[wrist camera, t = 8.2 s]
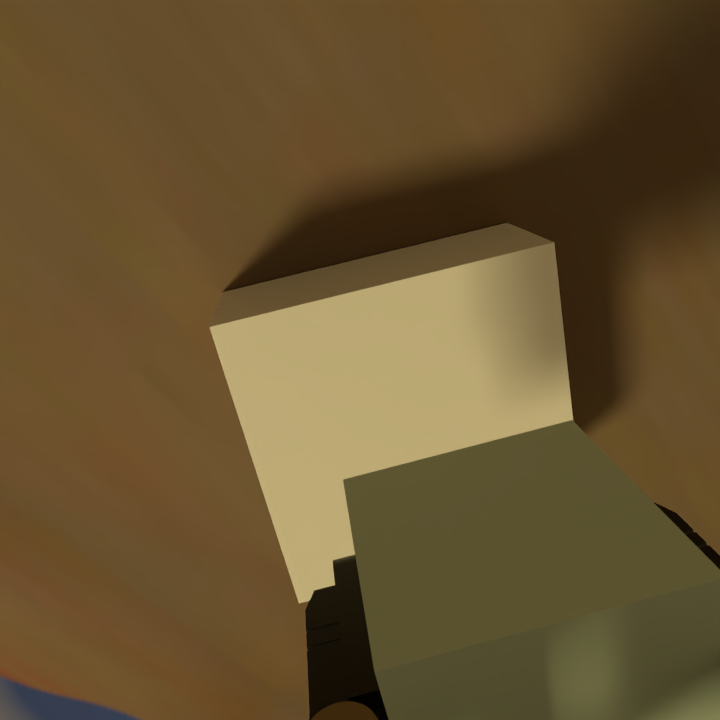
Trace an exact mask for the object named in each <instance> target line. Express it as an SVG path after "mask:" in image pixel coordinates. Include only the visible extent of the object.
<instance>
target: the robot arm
mask: <svg viewBox="0 0 720 720" xmlns="http://www.w3.org/2000/svg"><path fill="white" fill-rule="evenodd" d="M655 504H656V503H655ZM656 506H657V507H658V508H659V509H660V510H661V511H662V512H663V513H664V514H665V515H666V516H667V517H668V518H669V519H670V520H671V521H672V522H673V523H674V524H675V525H676V526H677V527H678V528H679V529H680V530H681V531H682V532H683V533H684V534H685V535H686V536H687V537H688V538H689V539H690V540H691V541H692V542H693V543H694V544H695V545H696V546H697V547H698V548H699V549H700V550H701V551H702V552H703V553H704V554H705V555H706V556H707V557H708V558H709V559H710V560H711V561H712V562H713V563H714V564H715V565H716V566H717V567H718V568H719V569H720V556H719V555H718V554H717V553H716V552H715V551H714V550H713V549H712V548H711V547H710V546H707V544H706V542H705V541H704V540H703V539H702V538H701V537H700V536H699V535H698V534H697V533H696V532H695V533H694V532H693V529H692V528H691V527H690V526H689V525H688V524H687V523H686V522H685V521H684V520H683V519H682V518H681V517H680V516H679V515H678V514H677V513H675V512H673V511H671V510H669V509H667V508H665V507H663V506H660V505H658V504H656ZM333 571H334V580H335V585H333V586H329V587H325V588H322V589H318V590H314V592H313V594H312V597H311V599H310V601H309V603H308V606H307V608H306V610H305V611H306V631H307V634H306V635H307V649H308V651H307V659H308V683H309V707H310V718H309V720H388V716H387V713H386V709H385V706H384V703H383V699H382V696H381V693H380V689H379V686H378V682H377V679H376V676H375V672H374V666H373V660H372V654H371V648H370V642H369V636H368V630H367V624H366V618H365V611H364V605H363V599H362V593H361V587H360V581H359V575H358V569H357V563H356V557H355V555H351V556H347V557H343V558H339V559H336V560H333Z"/></svg>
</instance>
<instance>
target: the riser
mask: <svg viewBox="0 0 720 720" xmlns="http://www.w3.org/2000/svg"><path fill="white" fill-rule="evenodd" d="M210 330H211V333H212V336H213V340H214V343H215V346H216V349H217V352H218V355H219V358H220V361H221V364H222V367H223V370H224V373H225V377H226V380H227V383H228V386H229V389H230V392H231V395H232V398H233V401H234V404H235V407H236V410H237V414H238V417H239V420H240V423H241V426H242V429H243V432H244V435H245V438H246V441H247V444H248V447H249V451H250V454H251V457H252V460H253V463H254V466H255V469H256V472H257V475H258V478H259V481H260V484H261V488H262V491H263V494H264V497H265V500H266V503H267V506H268V509H269V512H270V515H271V518H272V521H273V525H274V528H275V531H276V534H277V537H278V540H279V543H280V546H281V549H282V552H283V555H284V558H285V562H286V565H287V568H288V571H289V574H290V577H291V580H292V583H293V586H294V589H295V592H296V595H297V599H298V602H299V603H303V602H306V601H310V599H311V597H312V594H313V592H314V590H318V589H322V588H325V587H329V586H333V585H335V580H334V571H333V560H336V559H339V558H343V557H347V556H351V555H355V551H354V544H353V538H352V532H351V526H350V520H349V514H348V508H347V502H346V496H345V490H344V483H343V479H347V478H351V477H355V476H359V475H363V474H366V473H370V472H374V471H378V470H382V469H386V468H389V467H393V466H397V465H401V464H405V463H409V462H413V461H416V460H420V459H424V458H428V457H432V456H436V455H439V454H443V453H447V452H451V451H455V450H459V449H462V448H466V447H470V446H474V445H478V444H482V443H486V442H489V441H493V440H497V439H501V438H505V437H509V436H512V435H516V434H520V433H524V432H528V431H532V430H535V429H539V428H543V427H547V426H551V425H555V424H559V423H562V422H566V421H570V420H573V414H572V404H571V395H570V386H569V376H568V367H567V357H566V348H565V338H564V329H563V319H562V310H561V300H560V291H559V281H558V272H557V263H556V253H555V244H554V242H552V241H550V240H548V239H545V238H543V237H540V236H538V235H535V234H533V233H531V232H528V231H526V230H523V229H521V228H519V227H516V226H514V225H511V224H509V223H504V224H500V225H496V226H492V227H488V228H483V229H479V230H475V231H471V232H467V233H463V234H459V235H455V236H451V237H447V238H443V239H438V240H434V241H430V242H426V243H422V244H418V245H414V246H410V247H406V248H402V249H398V250H393V251H389V252H385V253H381V254H377V255H373V256H369V257H365V258H361V259H357V260H352V261H348V262H344V263H340V264H336V265H332V266H328V267H324V268H320V269H316V270H312V271H307V272H303V273H299V274H295V275H291V276H287V277H283V278H279V279H275V280H271V281H266V282H262V283H258V284H254V285H250V286H246V287H242V288H238V289H234V290H230V291H226V292H222V294H221V297H220V299H219V302H218V305H217V308H216V310H215V313H214V316H213V319H212V321H211V324H210Z"/></svg>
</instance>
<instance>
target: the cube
mask: <svg viewBox="0 0 720 720" xmlns="http://www.w3.org/2000/svg"><path fill="white" fill-rule="evenodd" d="M343 483H344V490H345V496H346V502H347V508H348V514H349V520H350V526H351V532H352V538H353V544H354V551H355V557H356V563H357V569H358V575H359V581H360V587H361V593H362V599H363V605H364V611H365V618H366V624H367V630H368V636H369V642H370V648H371V654H372V660H373V666H374V672H375V676H376V679H377V682H378V686H379V689H380V693H381V696H382V699H383V703H384V706H385V709H386V713H387V716H388V720H720V569H719V568H718V567H717V566H716V565H715V564H714V563H713V562H712V561H711V560H710V559H709V558H708V557H707V556H706V555H705V554H704V553H703V552H702V551H701V550H700V549H699V548H698V547H697V546H696V545H695V544H694V543H693V542H692V541H691V540H690V539H689V538H688V537H687V536H686V535H685V534H684V533H683V532H682V531H681V530H680V529H679V528H678V527H677V526H676V525H675V524H674V523H673V522H672V521H671V520H670V519H669V518H668V517H667V516H666V515H665V514H664V513H663V512H662V511H661V510H660V509H659V508H658V507H657V506H656V504H655V503H654V502H653V501H652V500H651V499H650V498H649V497H648V496H647V495H646V494H645V493H644V492H643V491H642V490H641V489H640V488H639V487H638V486H637V485H636V484H635V483H634V482H633V481H632V480H631V479H630V478H629V477H628V476H627V475H626V474H625V473H624V472H623V471H622V470H621V469H620V468H619V467H618V466H617V465H616V464H615V463H614V462H613V461H612V460H611V459H610V458H609V457H608V456H607V455H606V454H605V453H604V452H603V451H602V450H601V449H600V448H599V447H598V446H597V445H596V444H595V443H594V442H593V441H592V440H591V439H590V438H589V437H588V436H587V435H586V434H585V433H584V431H583V430H582V429H581V428H580V427H579V426H578V425H577V424H576V423H575V422H574V421H573V420H570V421H566V422H562V423H559V424H555V425H551V426H547V427H543V428H539V429H535V430H532V431H528V432H524V433H520V434H516V435H512V436H509V437H505V438H501V439H497V440H493V441H489V442H486V443H482V444H478V445H474V446H470V447H466V448H462V449H459V450H455V451H451V452H447V453H443V454H439V455H436V456H432V457H428V458H424V459H420V460H416V461H413V462H409V463H405V464H401V465H397V466H393V467H389V468H386V469H382V470H378V471H374V472H370V473H366V474H363V475H359V476H355V477H351V478H347V479H343Z"/></svg>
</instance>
